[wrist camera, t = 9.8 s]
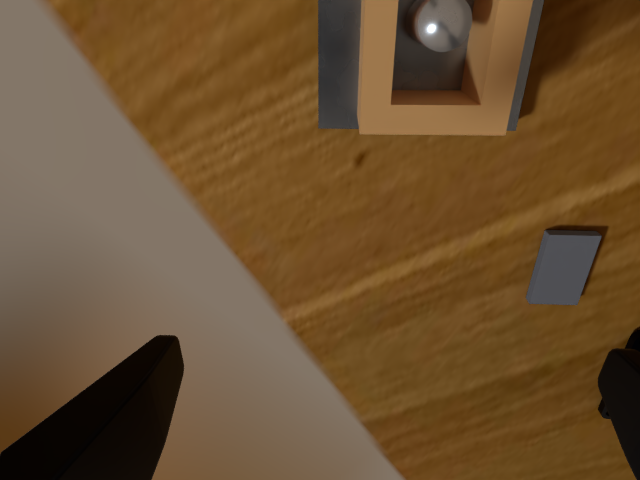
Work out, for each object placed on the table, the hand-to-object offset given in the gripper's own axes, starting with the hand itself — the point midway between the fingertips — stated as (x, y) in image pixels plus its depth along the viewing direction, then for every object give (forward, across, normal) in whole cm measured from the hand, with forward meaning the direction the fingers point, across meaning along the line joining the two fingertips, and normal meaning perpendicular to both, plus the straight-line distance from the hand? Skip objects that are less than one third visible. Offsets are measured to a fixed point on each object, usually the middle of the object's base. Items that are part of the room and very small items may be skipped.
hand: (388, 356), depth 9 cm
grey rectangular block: (+12, -10, +5) cm, 16 cm away
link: (+11, -2, -6) cm, 13 cm away
